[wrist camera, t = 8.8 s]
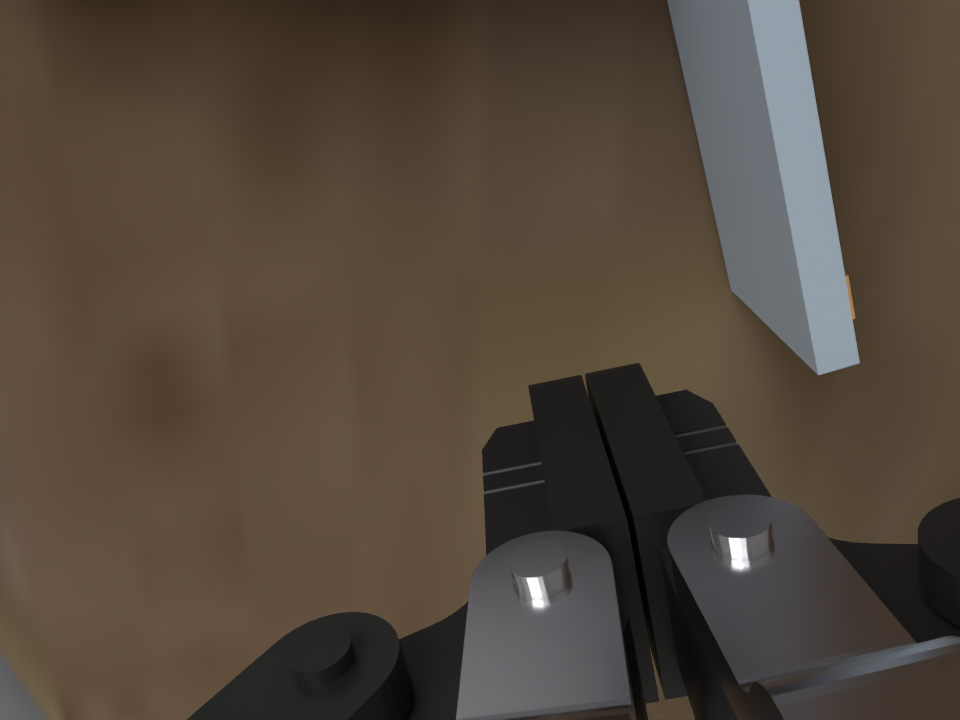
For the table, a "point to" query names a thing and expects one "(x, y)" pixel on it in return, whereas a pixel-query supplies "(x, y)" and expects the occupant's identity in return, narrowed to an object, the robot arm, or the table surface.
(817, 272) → the side door
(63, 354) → the table surface
